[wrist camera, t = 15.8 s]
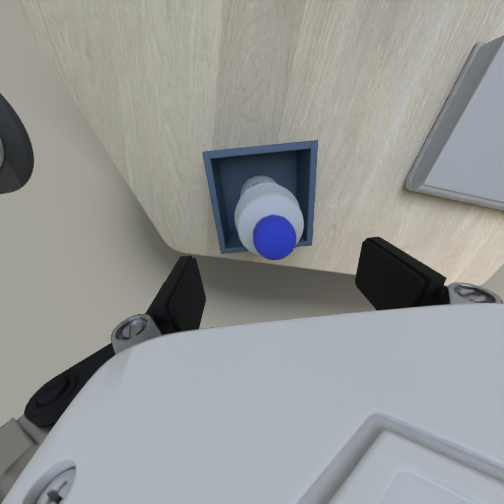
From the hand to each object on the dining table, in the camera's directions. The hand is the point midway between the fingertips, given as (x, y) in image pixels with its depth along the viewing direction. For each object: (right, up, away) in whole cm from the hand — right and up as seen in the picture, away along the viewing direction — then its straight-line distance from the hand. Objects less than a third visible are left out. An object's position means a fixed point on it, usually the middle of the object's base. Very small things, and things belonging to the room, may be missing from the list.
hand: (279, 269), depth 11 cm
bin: (0, +11, +22) cm, 24 cm away
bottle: (0, +11, +21) cm, 24 cm away
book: (+37, +18, +19) cm, 46 cm away
